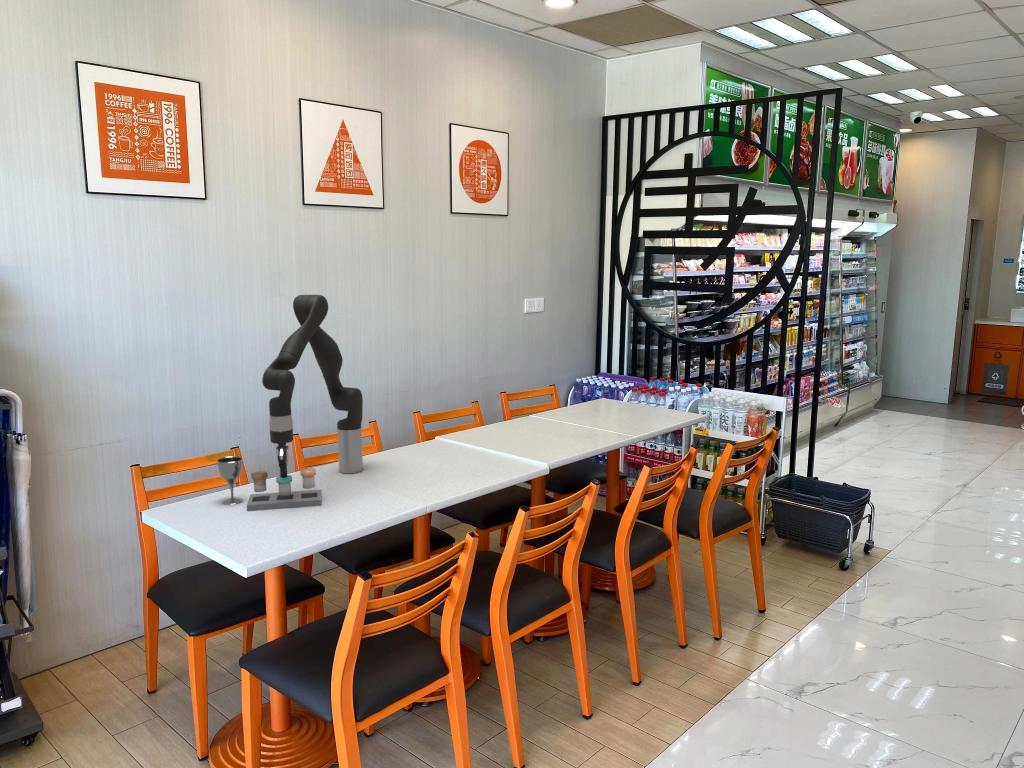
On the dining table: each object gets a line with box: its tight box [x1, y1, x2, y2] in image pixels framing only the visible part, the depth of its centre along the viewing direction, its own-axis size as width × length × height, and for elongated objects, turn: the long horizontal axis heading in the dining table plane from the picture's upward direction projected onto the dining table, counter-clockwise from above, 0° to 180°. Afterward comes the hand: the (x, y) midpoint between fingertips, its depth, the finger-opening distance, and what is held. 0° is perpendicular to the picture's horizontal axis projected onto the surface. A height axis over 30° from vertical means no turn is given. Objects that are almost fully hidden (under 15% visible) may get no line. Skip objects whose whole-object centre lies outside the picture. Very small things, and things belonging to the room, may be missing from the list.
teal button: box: [275, 474, 293, 496], centre depth 264 cm, size 5×5×6 cm
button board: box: [246, 489, 322, 512], centre depth 265 cm, size 12×24×2 cm, turn 103°
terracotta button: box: [299, 467, 317, 490], centre depth 265 cm, size 5×5×6 cm
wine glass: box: [216, 455, 244, 506], centre depth 265 cm, size 8×8×15 cm
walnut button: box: [250, 470, 268, 493], centre depth 262 cm, size 5×5×6 cm
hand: (284, 477), depth 263 cm, fingers closed
